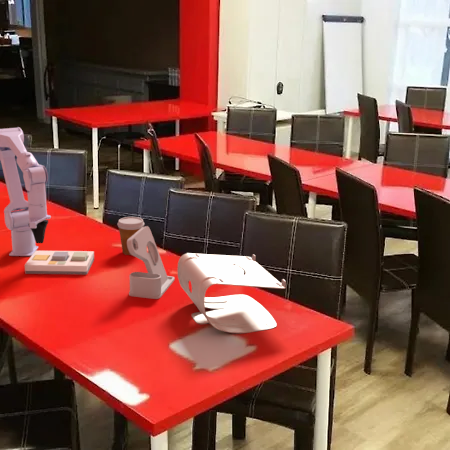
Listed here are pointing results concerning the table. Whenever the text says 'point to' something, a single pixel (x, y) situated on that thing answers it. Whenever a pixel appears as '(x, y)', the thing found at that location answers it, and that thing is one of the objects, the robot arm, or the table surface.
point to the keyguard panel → (58, 264)
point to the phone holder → (147, 267)
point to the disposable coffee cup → (128, 230)
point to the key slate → (60, 256)
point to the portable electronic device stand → (227, 305)
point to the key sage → (80, 256)
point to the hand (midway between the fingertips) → (39, 242)
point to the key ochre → (41, 257)
